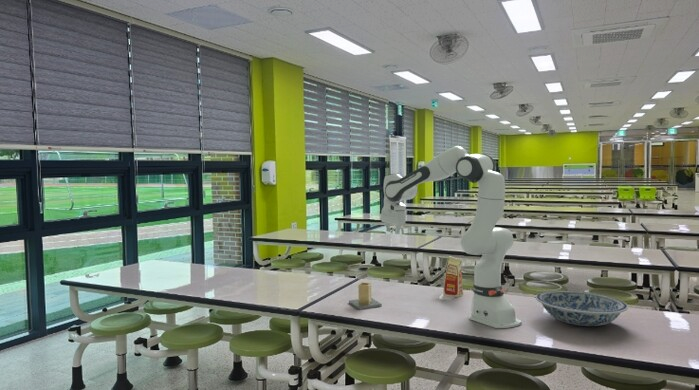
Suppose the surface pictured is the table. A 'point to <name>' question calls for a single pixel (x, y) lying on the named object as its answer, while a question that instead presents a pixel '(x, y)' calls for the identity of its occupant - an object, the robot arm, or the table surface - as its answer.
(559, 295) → the ceramic bowl
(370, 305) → the grey peg base
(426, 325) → the table surface
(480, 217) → the robot arm
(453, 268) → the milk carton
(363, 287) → the sleeve
